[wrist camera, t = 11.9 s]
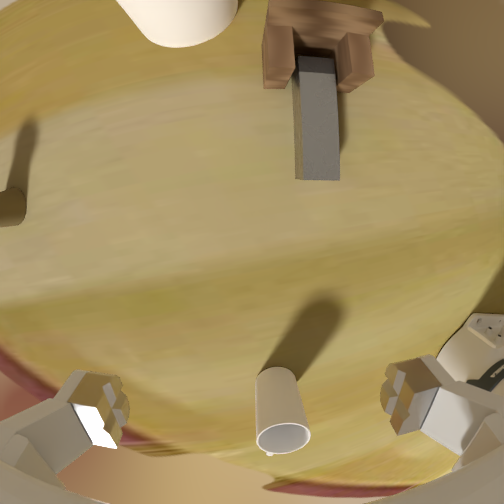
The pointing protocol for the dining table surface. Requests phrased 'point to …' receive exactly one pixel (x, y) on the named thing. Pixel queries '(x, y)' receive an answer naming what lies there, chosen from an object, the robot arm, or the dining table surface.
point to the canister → (180, 19)
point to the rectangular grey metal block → (315, 119)
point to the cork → (12, 207)
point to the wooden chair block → (318, 40)
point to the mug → (279, 412)
